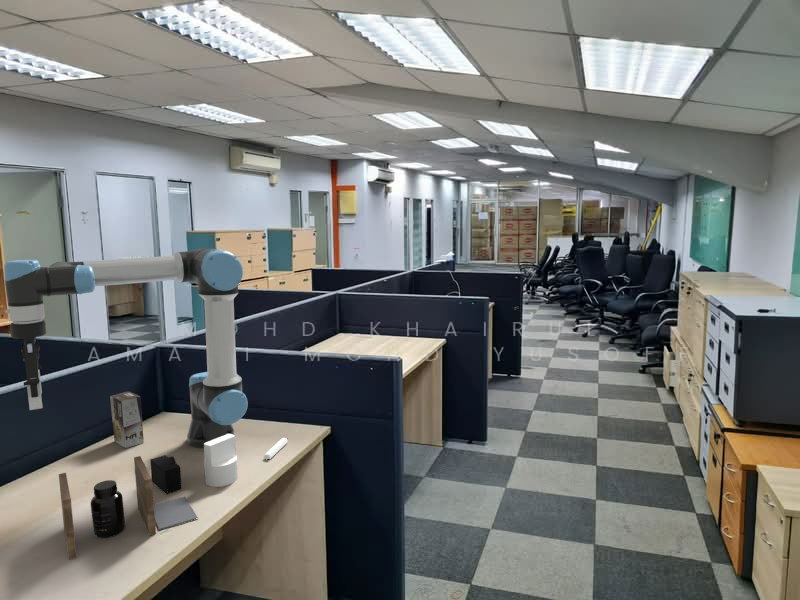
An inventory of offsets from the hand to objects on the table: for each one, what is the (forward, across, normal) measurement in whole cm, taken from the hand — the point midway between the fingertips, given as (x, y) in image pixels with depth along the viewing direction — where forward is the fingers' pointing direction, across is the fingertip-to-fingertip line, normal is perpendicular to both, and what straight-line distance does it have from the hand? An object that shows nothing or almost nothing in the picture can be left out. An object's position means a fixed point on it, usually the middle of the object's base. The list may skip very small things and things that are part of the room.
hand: (36, 401), depth 145 cm
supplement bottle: (+28, +26, +12) cm, 40 cm away
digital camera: (+28, +9, +29) cm, 41 cm away
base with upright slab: (+28, +14, +43) cm, 53 cm away
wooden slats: (+27, +26, +12) cm, 40 cm away
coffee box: (+28, -30, +24) cm, 47 cm away
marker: (+28, +3, +64) cm, 70 cm away
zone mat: (+27, +26, +27) cm, 46 cm away
